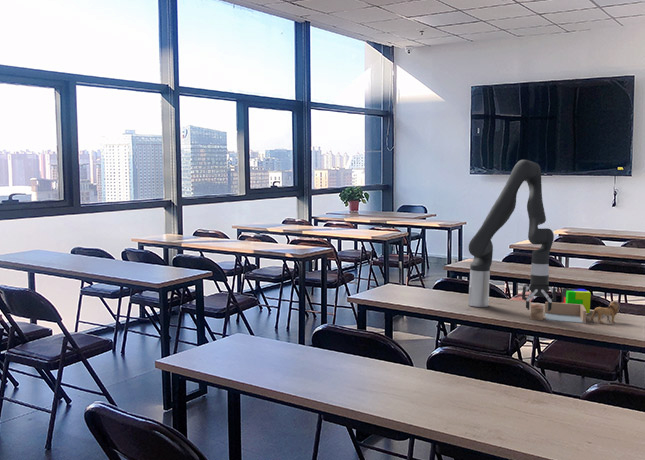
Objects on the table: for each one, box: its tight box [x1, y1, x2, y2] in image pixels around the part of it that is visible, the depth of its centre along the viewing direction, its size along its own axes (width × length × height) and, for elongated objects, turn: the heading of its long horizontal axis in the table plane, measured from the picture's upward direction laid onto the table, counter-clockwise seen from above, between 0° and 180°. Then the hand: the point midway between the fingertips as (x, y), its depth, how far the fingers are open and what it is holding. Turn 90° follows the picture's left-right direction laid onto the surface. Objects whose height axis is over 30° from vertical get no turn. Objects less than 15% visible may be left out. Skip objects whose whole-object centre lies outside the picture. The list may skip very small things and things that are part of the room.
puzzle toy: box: [561, 287, 592, 313], centre depth 294 cm, size 10×10×10 cm
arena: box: [544, 301, 587, 324], centre depth 278 cm, size 16×15×5 cm
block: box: [529, 303, 544, 321], centre depth 276 cm, size 5×5×6 cm
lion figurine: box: [590, 300, 620, 324], centre depth 272 cm, size 15×5×9 cm, turn 112°
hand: (538, 310), depth 276 cm, fingers open, 8 cm apart
